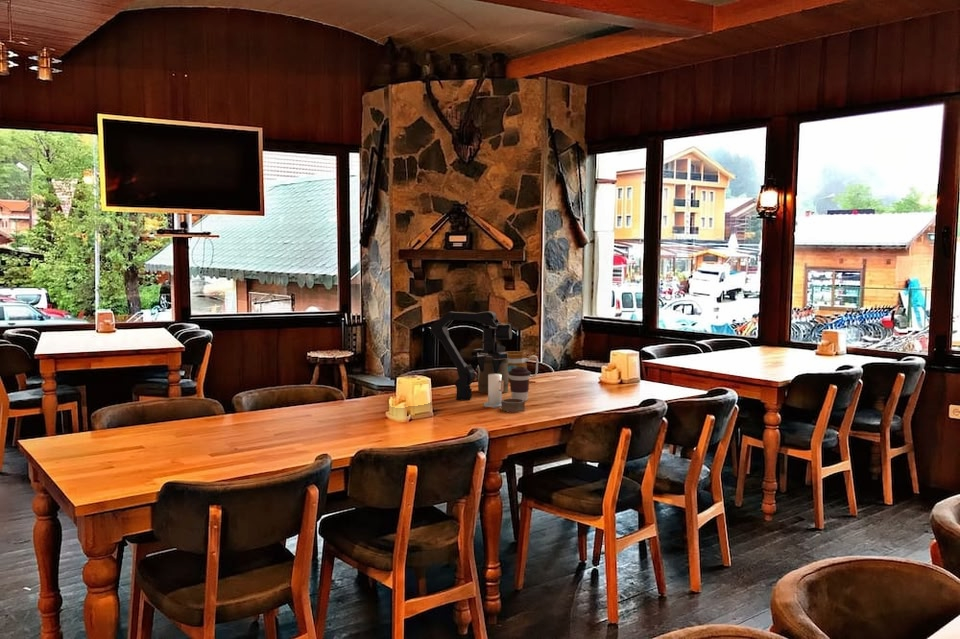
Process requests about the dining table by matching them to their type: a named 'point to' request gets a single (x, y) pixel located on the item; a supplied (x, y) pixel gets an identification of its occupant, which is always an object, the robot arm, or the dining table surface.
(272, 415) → the dining table surface
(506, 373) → the wooden container
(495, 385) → the jug
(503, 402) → the holder
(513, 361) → the mug
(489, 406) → the plate
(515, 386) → the coffee cup
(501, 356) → the robot arm
